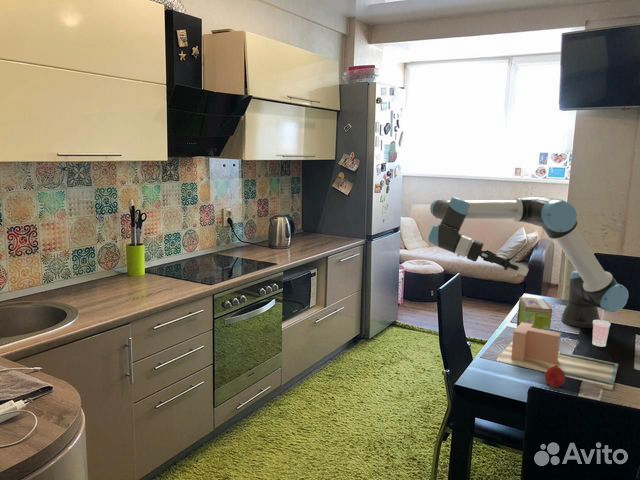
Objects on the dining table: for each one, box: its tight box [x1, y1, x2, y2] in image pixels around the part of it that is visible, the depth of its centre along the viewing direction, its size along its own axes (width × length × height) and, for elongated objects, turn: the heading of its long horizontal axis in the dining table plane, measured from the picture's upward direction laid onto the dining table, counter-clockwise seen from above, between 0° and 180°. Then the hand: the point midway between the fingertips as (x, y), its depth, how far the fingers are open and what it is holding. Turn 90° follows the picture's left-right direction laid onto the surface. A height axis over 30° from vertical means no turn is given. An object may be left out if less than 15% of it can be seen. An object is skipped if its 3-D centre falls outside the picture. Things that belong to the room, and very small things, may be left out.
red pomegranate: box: [544, 365, 566, 390], centre depth 166 cm, size 6×6×8 cm
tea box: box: [516, 296, 553, 331], centre depth 210 cm, size 15×10×15 cm
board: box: [495, 341, 619, 391], centre depth 185 cm, size 22×36×2 cm, turn 57°
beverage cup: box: [591, 309, 611, 348], centre depth 204 cm, size 6×6×14 cm
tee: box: [511, 322, 562, 364], centre depth 188 cm, size 12×14×10 cm
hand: (526, 271), depth 190 cm, fingers open, 13 cm apart
